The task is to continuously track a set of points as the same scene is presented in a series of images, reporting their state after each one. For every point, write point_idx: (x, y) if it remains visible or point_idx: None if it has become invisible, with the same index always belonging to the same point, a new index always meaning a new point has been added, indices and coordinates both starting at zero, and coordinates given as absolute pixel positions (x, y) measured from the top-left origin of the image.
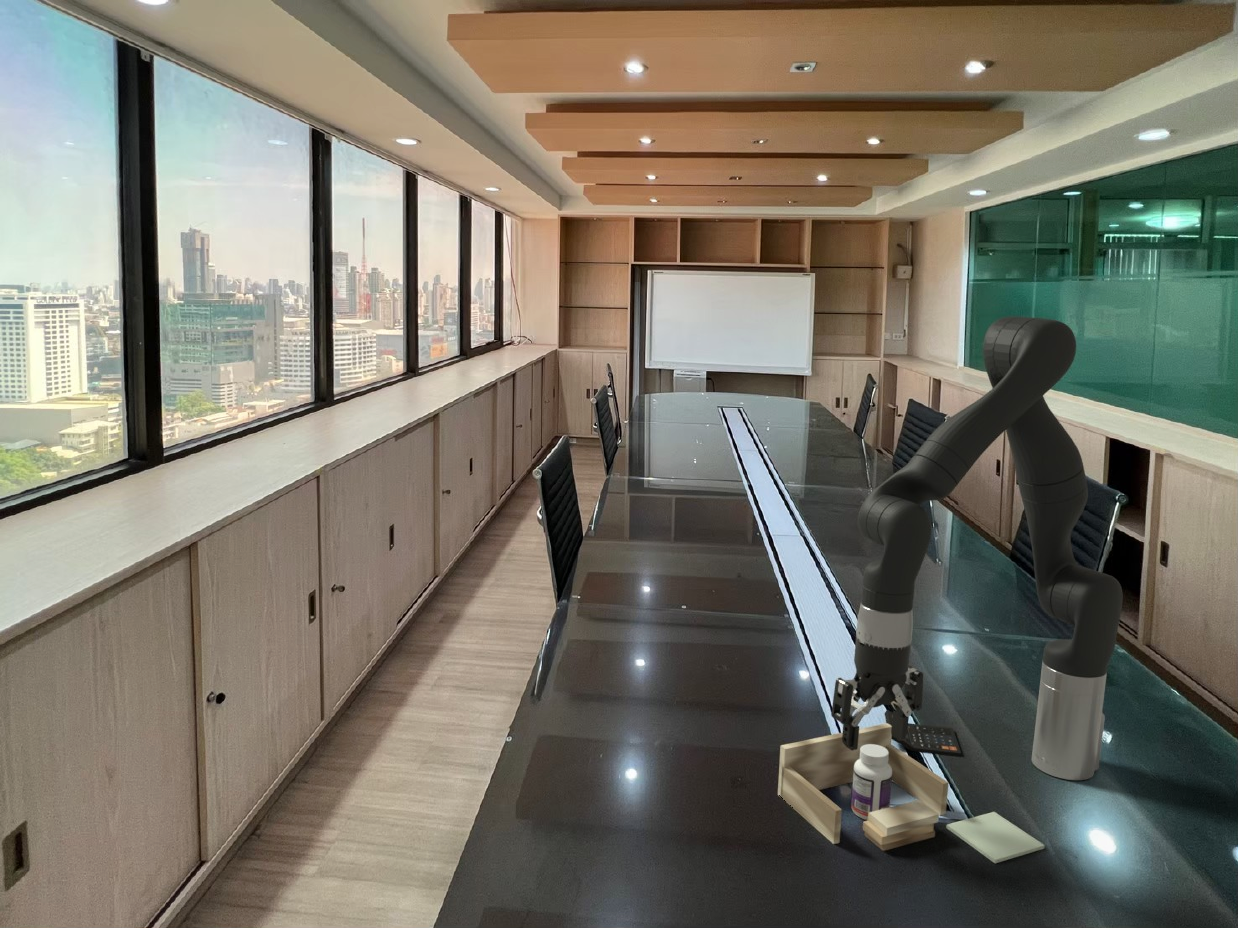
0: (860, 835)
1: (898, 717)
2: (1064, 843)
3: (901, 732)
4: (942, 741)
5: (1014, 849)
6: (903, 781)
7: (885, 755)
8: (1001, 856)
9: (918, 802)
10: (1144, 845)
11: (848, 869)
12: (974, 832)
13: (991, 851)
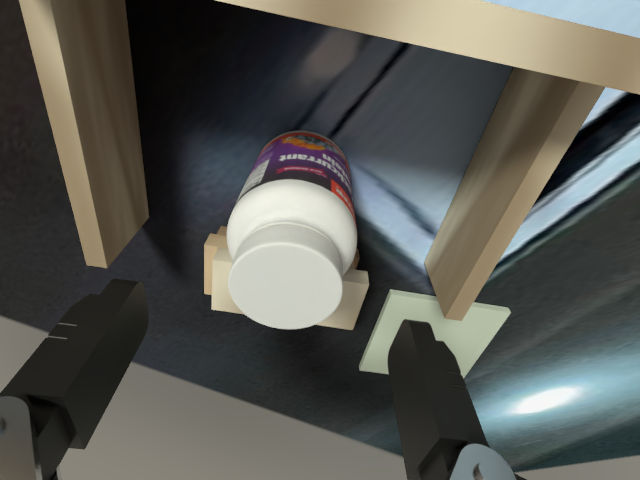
0: (211, 222)
1: (417, 444)
2: (496, 384)
3: (392, 393)
4: None
5: None
6: (484, 156)
7: (291, 328)
8: (376, 370)
9: (356, 290)
10: (570, 423)
11: (118, 274)
12: None
13: (376, 359)
